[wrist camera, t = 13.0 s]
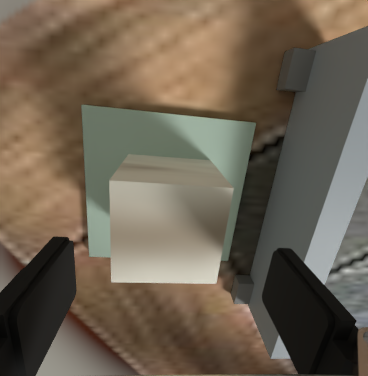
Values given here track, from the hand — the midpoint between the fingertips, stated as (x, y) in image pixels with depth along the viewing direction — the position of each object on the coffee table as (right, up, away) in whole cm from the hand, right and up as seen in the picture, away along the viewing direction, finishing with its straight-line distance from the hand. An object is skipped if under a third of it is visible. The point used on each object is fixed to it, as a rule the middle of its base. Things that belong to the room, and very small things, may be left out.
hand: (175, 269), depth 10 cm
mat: (-1, +4, +8) cm, 9 cm away
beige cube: (-1, +3, +7) cm, 8 cm away
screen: (+9, +3, +9) cm, 13 cm away
